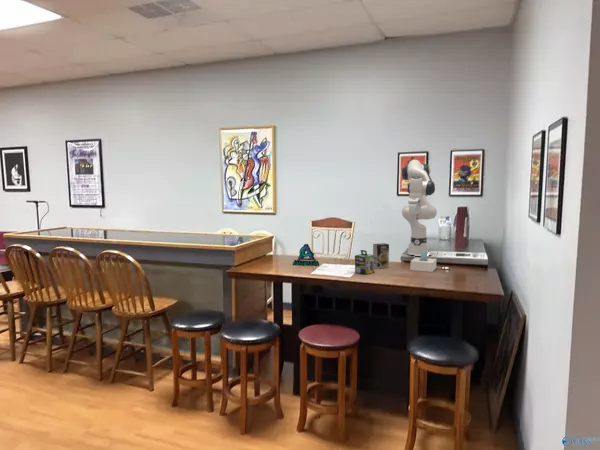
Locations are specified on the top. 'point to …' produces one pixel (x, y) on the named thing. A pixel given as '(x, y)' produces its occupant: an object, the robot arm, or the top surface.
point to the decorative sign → (306, 261)
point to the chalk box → (364, 263)
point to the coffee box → (381, 255)
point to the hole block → (423, 264)
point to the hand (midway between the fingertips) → (415, 220)
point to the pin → (423, 255)
